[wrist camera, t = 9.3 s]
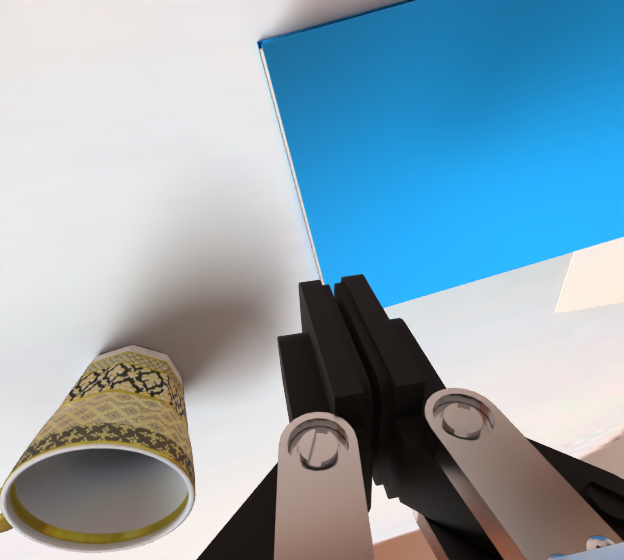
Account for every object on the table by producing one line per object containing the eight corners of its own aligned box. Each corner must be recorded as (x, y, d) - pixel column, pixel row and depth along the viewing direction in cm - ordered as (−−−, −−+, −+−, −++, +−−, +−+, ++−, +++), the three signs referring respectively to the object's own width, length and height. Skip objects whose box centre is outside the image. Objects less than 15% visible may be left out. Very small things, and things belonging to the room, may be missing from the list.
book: (256, 45, 19) (793, -113, 19) (253, 42, 22) (702, -90, 22) (336, 331, 28) (696, 225, 28) (324, 296, 31) (643, 202, 31)
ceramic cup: (169, 307, 29) (146, 421, 21) (221, 400, 34) (220, 520, 26) (-10, 365, 29) (-106, 503, 20) (71, 449, 34) (21, 586, 26)
